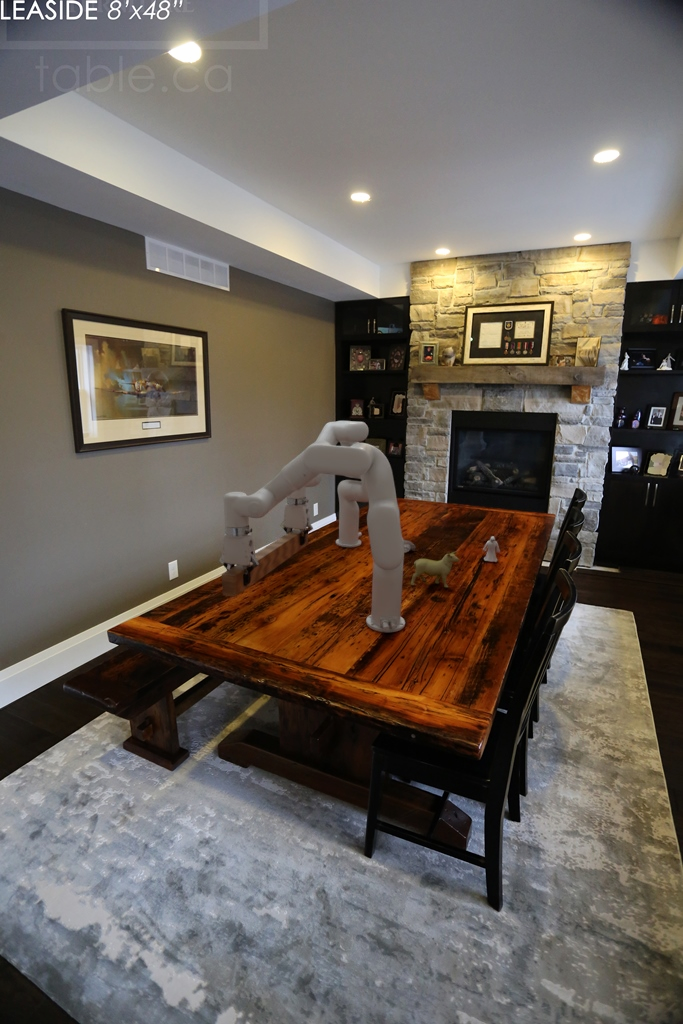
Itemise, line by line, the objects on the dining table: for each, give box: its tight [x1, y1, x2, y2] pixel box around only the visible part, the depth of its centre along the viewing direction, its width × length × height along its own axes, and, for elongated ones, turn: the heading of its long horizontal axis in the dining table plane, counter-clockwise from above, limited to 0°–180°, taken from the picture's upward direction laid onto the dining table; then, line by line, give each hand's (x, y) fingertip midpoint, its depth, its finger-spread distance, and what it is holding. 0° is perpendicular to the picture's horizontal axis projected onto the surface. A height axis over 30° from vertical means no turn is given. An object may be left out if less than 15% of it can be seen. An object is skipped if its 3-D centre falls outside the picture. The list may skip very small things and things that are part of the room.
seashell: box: [403, 539, 417, 554], centre depth 234 cm, size 8×5×8 cm
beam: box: [221, 527, 309, 598], centre depth 186 cm, size 59×4×7 cm, turn 161°
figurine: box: [482, 535, 501, 563], centre depth 223 cm, size 8×8×12 cm
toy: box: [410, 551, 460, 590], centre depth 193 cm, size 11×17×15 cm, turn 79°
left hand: (296, 543), depth 207 cm, fingers closed on beam, 4 cm apart
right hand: (239, 582), depth 166 cm, fingers closed on beam, 4 cm apart
